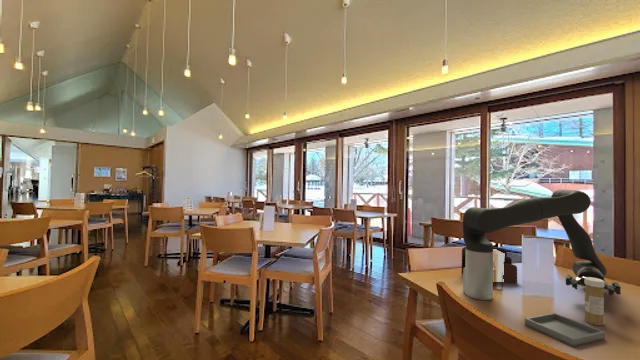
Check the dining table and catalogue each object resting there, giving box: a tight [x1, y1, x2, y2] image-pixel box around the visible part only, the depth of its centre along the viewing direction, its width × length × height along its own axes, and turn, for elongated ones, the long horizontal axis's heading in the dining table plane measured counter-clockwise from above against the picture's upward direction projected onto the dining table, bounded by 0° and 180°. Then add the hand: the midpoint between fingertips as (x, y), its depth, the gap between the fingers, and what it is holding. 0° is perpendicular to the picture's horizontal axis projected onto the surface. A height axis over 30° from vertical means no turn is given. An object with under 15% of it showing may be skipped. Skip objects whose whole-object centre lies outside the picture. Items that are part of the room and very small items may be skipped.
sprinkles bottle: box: [583, 277, 605, 326], centre depth 93 cm, size 5×5×14 cm
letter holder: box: [460, 246, 518, 284], centre depth 135 cm, size 10×20×14 cm, turn 85°
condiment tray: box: [524, 312, 606, 348], centre depth 86 cm, size 13×13×2 cm
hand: (592, 289), depth 101 cm, fingers open, 8 cm apart
